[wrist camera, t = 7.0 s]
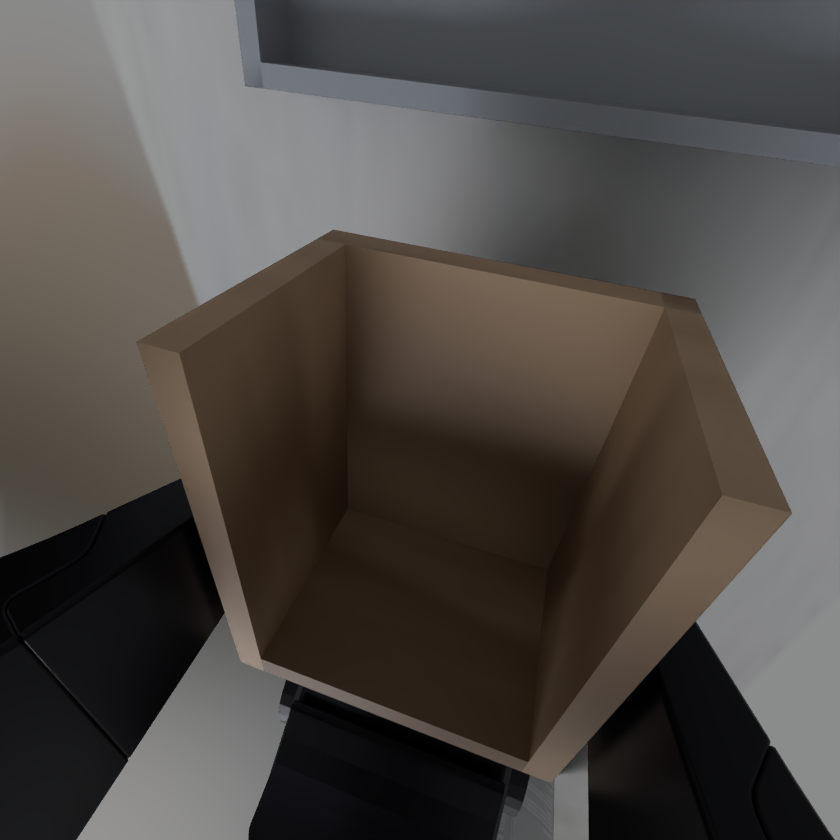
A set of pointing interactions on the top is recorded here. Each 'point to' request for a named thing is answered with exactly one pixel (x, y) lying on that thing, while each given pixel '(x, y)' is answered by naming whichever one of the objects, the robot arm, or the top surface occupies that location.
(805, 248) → the top surface
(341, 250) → the scoop
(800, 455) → the top surface
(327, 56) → the tray
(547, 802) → the skincare box
